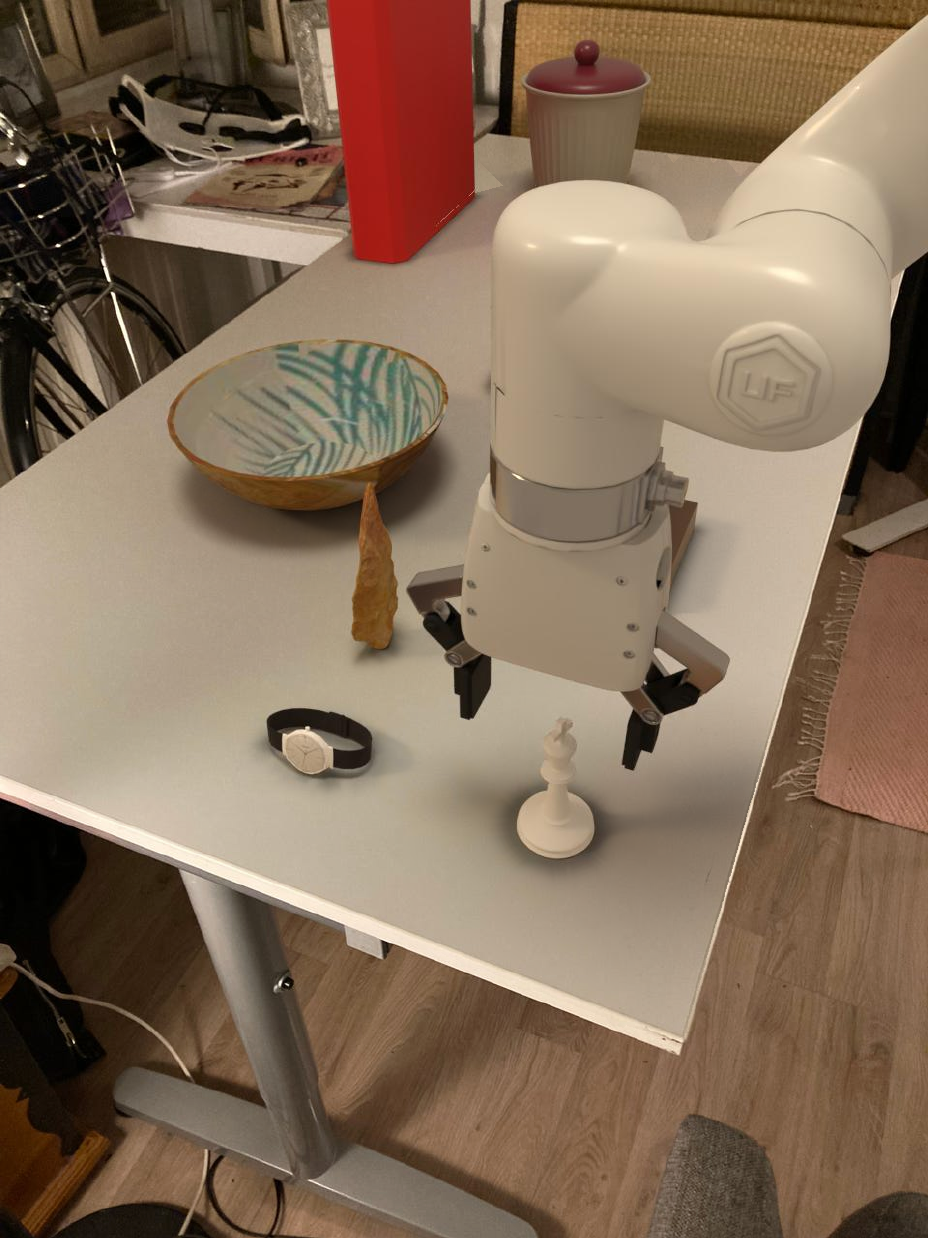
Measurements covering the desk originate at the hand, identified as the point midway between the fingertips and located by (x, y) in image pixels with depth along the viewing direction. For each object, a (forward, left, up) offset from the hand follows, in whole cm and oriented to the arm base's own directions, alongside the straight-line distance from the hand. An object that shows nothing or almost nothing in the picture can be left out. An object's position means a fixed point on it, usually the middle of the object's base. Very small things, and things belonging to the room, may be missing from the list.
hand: (553, 726), depth 56 cm
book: (+53, -92, -10) cm, 107 cm away
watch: (+17, 0, -10) cm, 19 cm away
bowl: (+34, -30, -10) cm, 46 cm away
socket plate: (+6, -28, -9) cm, 30 cm away
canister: (+34, -110, -10) cm, 115 cm away
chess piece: (0, 0, -10) cm, 10 cm away
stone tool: (+18, -11, -10) cm, 23 cm away
